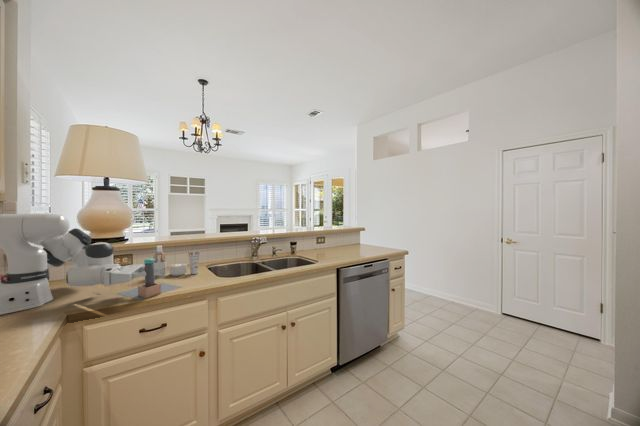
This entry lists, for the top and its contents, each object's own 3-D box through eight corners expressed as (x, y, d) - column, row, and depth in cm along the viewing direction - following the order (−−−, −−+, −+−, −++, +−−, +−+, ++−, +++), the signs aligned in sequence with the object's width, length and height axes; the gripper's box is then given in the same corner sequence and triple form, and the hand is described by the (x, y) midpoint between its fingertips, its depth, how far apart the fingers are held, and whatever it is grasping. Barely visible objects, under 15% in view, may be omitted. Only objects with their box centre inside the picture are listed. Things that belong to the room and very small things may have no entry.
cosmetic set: (200, 271, 162) (200, 242, 162) (200, 275, 154) (199, 244, 153) (154, 276, 152) (154, 245, 151) (151, 280, 143) (151, 247, 143)
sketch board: (140, 301, 110) (140, 300, 110) (116, 295, 118) (116, 293, 118) (182, 288, 128) (182, 286, 128) (159, 283, 137) (159, 282, 136)
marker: (148, 295, 115) (147, 260, 114) (143, 294, 116) (142, 259, 116) (156, 292, 118) (156, 259, 118) (151, 291, 120) (151, 258, 119)
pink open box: (146, 297, 113) (146, 288, 113) (138, 295, 116) (137, 286, 116) (161, 293, 119) (161, 284, 119) (152, 291, 122) (152, 282, 121)
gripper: (122, 274, 122) (155, 272, 127) (102, 287, 103) (142, 284, 108) (122, 262, 122) (155, 260, 127) (102, 272, 103) (142, 269, 107)
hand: (149, 271), depth 117 cm, fingers open, 8 cm apart
